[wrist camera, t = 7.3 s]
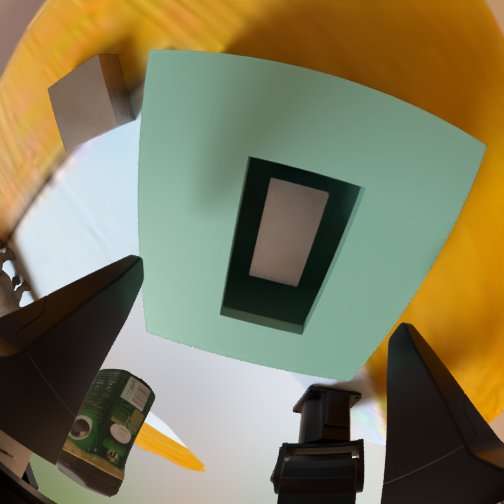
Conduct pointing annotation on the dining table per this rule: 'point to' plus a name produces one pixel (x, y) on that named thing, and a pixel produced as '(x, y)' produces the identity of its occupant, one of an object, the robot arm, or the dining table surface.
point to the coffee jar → (106, 431)
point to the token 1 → (90, 100)
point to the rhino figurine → (9, 286)
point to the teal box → (254, 197)
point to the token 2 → (289, 224)
